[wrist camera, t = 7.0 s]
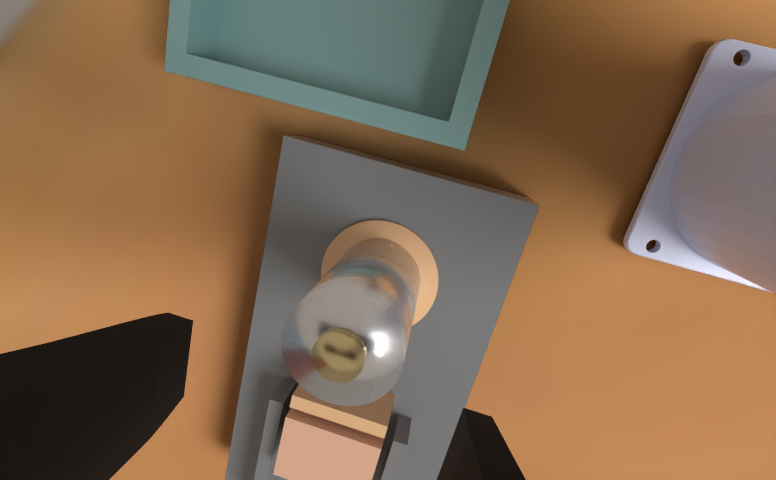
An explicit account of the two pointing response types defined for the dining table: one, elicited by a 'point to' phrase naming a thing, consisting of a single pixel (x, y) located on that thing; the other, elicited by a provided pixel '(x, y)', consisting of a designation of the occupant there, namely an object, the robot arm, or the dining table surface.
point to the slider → (325, 450)
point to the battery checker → (432, 313)
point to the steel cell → (354, 325)
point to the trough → (347, 57)
